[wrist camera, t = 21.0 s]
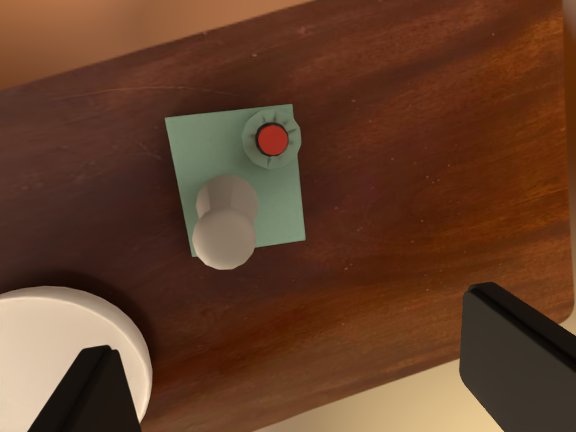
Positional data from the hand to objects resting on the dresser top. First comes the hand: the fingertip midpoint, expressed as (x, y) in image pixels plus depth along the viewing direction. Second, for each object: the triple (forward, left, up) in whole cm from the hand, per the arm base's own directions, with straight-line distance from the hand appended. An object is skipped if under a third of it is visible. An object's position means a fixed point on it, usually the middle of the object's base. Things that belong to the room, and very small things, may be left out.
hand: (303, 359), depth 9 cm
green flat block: (0, -1, -28) cm, 28 cm away
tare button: (-4, +2, -26) cm, 26 cm away
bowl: (+16, -22, -29) cm, 40 cm away
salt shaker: (+1, -3, -27) cm, 27 cm away
